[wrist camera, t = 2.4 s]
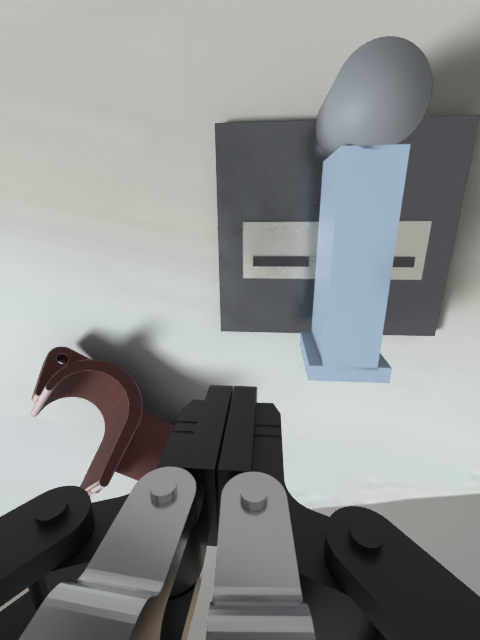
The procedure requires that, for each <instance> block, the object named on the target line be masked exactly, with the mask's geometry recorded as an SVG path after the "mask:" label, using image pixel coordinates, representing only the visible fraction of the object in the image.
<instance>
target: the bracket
mask: <svg viewBox="0 0 480 640" xmlns="http://www.w3.org/2000/svg"><path fill="white" fill-rule="evenodd" d="M58 362H61V363H63V364H60V363H58ZM64 397H80V398H83V399H86V400H88V401H90V402H92V403H93V404H94V405H96V406H97V407H98V409H99V410H100V411H101V413H102V415H103V417H104V421H105V434H104V438H103V440H102V442H101V444H100V447H99V449H98V451H97V453H96V455H95V457H94V459H93V461H92V463H91V465H90V467H89V469H88V471H87V474H86V476H85V478H84V480H83V482H82V484H81V486H80V488H83V489H84V490H86V491H87V492H88V494H89V496H90V495H92V494H93V493H99V492H100V491H101V490H102V488H104V487H106V486H107V485H108V484H109V482H110V480H111V478H112V476H113V474H114V472H118V473H120V474H123V475H125V476H128V477H130V478H133V479H135V480H138V481H139V480H140V479H141V478H142V477H143V476H144V475H146V474H147V473H149V472H151V471H153V470H155V469H156V468H157V466H158V464H159V462H160V459H161V457H162V455H163V452H164V450H165V448H166V446H167V443H168V441H169V439H170V436H171V434H172V433H173V430H174V427H175V425H173V424H171V423H169V422H167V421H165V420H163V419H161V418H158V417H156V416H154V415H152V414H150V413H148V412H146V411H144V410H142V407H143V405H142V397H141V393H140V390H139V388H138V386H137V384H136V382H135V381H134V379H133V378H132V377H131V376H130V375H129V374H128V373H127V372H126V371H125V370H124V369H122V368H121V367H119V366H117V365H115V364H113V363H110V362H107V361H103V360H96V359H89V358H87V357H85V356H83V355H81V354H79V353H77V352H75V351H73V350H72V349H69V348H67V347H56V348H54V349H52V350H51V351H50V352H49V353H48V355H47V357H46V359H45V361H44V363H43V366H42V369H41V372H40V375H39V378H38V381H37V384H36V387H35V390H34V393H33V396H32V402H33V403H35V406H34V408H33V409H32V411H31V416H33V417H35V416H37V415H38V414H39V412H40V411H41V410H42V409H43V408H44V407H45V406H46V405H48V404H49V403H51V402H53V401H55V400H57V399H60V398H64Z"/></svg>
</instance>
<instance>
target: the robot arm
mask: <svg viewBox="0 0 480 640" xmlns="http://www.w3.org/2000/svg"><path fill="white" fill-rule="evenodd" d="M207 545H208V546H217V556H216V568H215V580H214V592H213V600H212V602H210V607H209V613H208V622H207V633H206V640H480V597H479V596H478V595H477V594H476V593H475V592H473V591H472V590H471V589H470V588H469V587H467V586H466V585H465V584H464V583H463V582H461V581H460V580H459V579H458V578H456V577H455V576H454V575H453V574H452V573H451V572H449V571H448V570H447V569H446V568H445V567H443V566H442V565H441V564H440V563H439V562H437V561H436V560H435V559H434V558H433V557H431V556H430V555H429V554H428V553H427V552H425V551H424V550H423V549H422V548H421V547H419V546H418V545H417V544H416V543H415V542H413V541H412V540H411V539H410V538H409V537H407V536H406V535H405V534H404V533H403V532H402V531H400V530H399V529H398V528H397V527H396V526H394V525H393V524H392V523H391V522H390V521H388V520H387V519H386V518H384V517H383V516H382V515H380V514H378V513H376V512H374V511H372V510H370V509H367V508H363V507H358V506H349V507H344V508H341V509H338V510H337V511H335V512H334V513H333V514H332V515H331V516H330V517H328V516H326V515H323V514H320V513H317V512H315V511H312V510H310V509H308V508H306V507H304V506H302V505H301V504H300V503H298V502H297V501H296V500H295V499H294V498H293V497H292V496H291V495H290V493H289V492H288V490H287V488H286V486H285V482H284V471H283V452H282V434H281V416H280V412H279V411H278V410H277V408H276V407H275V405H274V404H273V403H257V387H248V386H234V389H233V386H220V385H210V387H209V390H208V393H207V396H206V399H205V401H203V400H193V401H191V402H190V403H189V404H188V405H187V406H186V407H184V408H183V409H182V411H181V414H180V416H179V418H178V420H177V423H176V425H175V427H174V430H173V433H172V434H171V436H170V439H169V441H168V443H167V446H166V448H165V450H164V452H163V455H162V457H161V459H160V462H159V464H158V466H157V468H156V469H155V470H153V471H151V472H149V473H147V474H146V475H144V476H143V477H142V478H141V479H140V480H139V481H138V482H137V483H136V484H135V486H134V487H133V489H132V491H131V492H130V494H127V495H125V496H121V497H117V498H113V499H108V500H103V501H99V502H94V503H91V500H90V496H89V494H88V492H87V491H86V490H84V489H83V488H80V487H77V486H63V487H58V488H55V489H52V490H49V491H47V492H45V493H43V494H41V495H39V496H37V497H35V498H34V499H32V500H30V501H28V502H26V503H25V504H23V505H21V506H19V507H17V508H16V509H14V510H12V511H10V512H8V513H7V514H5V515H3V516H1V517H0V607H1V606H2V605H4V604H5V603H6V602H8V601H9V600H11V599H12V598H13V597H15V596H16V595H18V594H19V593H20V592H22V591H23V590H25V589H26V588H27V587H28V589H29V591H28V592H27V593H26V594H24V595H23V596H21V597H20V598H19V599H17V600H16V601H14V602H13V603H12V604H10V605H9V606H8V607H6V608H5V609H3V610H2V611H1V612H0V640H187V637H188V633H189V629H190V625H191V621H192V617H193V614H194V609H195V605H196V601H197V597H198V594H199V590H200V586H201V581H202V568H203V564H204V558H205V553H206V548H207Z"/></svg>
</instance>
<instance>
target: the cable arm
mask: <svg viewBox="0 0 480 640" xmlns="http://www.w3.org/2000/svg"><path fill="white" fill-rule="evenodd" d="M431 95H432V73H431V69H430V65H429V63H428V61H427V58H426V57H425V55H424V54H423V52H422V51H421V50H420V49H419V48H418V47H417V46H416V45H415V44H414V43H412V42H410V41H408V40H406V39H403V38H400V37H393V36H387V37H381V38H377V39H374V40H372V41H369V42H367V43H366V44H364V45H362V46H361V47H359V48H358V49H357V50H356V51H355V52H354V53H353V54H352V55H351V56H350V57H349V58H348V59H347V61H346V62H345V63H344V65H343V66H342V68H341V70H340V72H339V74H338V76H337V78H336V79H335V81H334V83H333V85H332V87H331V89H330V91H329V93H328V95H327V97H326V99H325V101H324V103H323V105H322V107H321V109H320V111H319V114H318V117H317V121H316V137H317V141H318V144H319V146H320V148H321V150H322V151H323V153H324V154H325V155H326V156H327V157H328V158H327V159H326V160H324V161H323V171H322V186H321V200H320V215H319V229H318V244H317V258H316V272H315V287H314V301H313V316H312V330H311V333H302V332H301V336H300V347H301V351H302V355H303V360H304V364H305V368H306V373H307V377H308V380H318V381H346V382H375V383H389V381H390V375H391V369H392V368H391V367H390V365H389V364H388V363H387V361H386V360H385V359H384V358H383V356H382V355H381V354H380V348H381V341H382V335H383V328H384V321H385V314H386V308H387V301H388V294H389V287H390V280H391V274H392V267H393V260H394V253H395V246H396V240H397V233H398V226H399V219H400V212H401V206H402V199H403V192H404V185H405V178H406V172H407V165H408V158H409V151H410V144H397V143H399V142H401V141H402V140H404V139H405V138H406V137H408V136H409V135H410V134H411V133H412V132H413V131H414V130H415V129H416V128H417V126H418V125H419V124H420V122H421V121H422V119H423V117H424V116H425V113H426V111H427V109H428V106H429V103H430V100H431Z"/></svg>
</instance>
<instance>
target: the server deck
mask: <svg viewBox="0 0 480 640" xmlns="http://www.w3.org/2000/svg"><path fill="white" fill-rule="evenodd" d="M479 116H480V115H469V116H437V117H423V119H422V121H421V122H420V124H419V125H418V126H417V128H416V129H415V130H414V131H413V132H412V133H411V134H410V135H409V136H408V137H406V138H405V139H404V140H402V141H401V142H399V143H397V144H410V151H409V158H408V165H407V172H406V178H405V185H404V192H403V199H402V206H401V212H400V219H399V226H398V233H397V240H396V246H395V253H394V260H393V267H392V274H391V280H390V287H389V294H388V301H387V308H386V314H385V321H384V328H383V335H414V336H435V331H436V327H437V322H438V317H439V312H440V307H441V302H442V297H443V292H444V287H445V283H446V278H447V273H448V268H449V263H450V258H451V253H452V248H453V243H454V239H455V234H456V229H457V224H458V219H459V214H460V209H461V204H462V199H463V195H464V190H465V185H466V180H467V175H468V170H469V165H470V160H471V155H472V151H473V146H474V141H475V136H476V131H477V126H478V121H479ZM316 121H317V120H307V121H275V122H242V123H215V141H216V175H217V209H218V243H219V277H220V311H221V331H239V332H283V333H301V332H302V333H311V330H312V316H313V301H314V287H315V272H316V258H317V244H318V229H319V215H320V200H321V186H322V171H323V161H324V160H326V159H327V158H328V157H327V156H326V155H325V154H324V153H323V151H322V150H321V148H320V146H319V144H318V141H317V137H316Z"/></svg>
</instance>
